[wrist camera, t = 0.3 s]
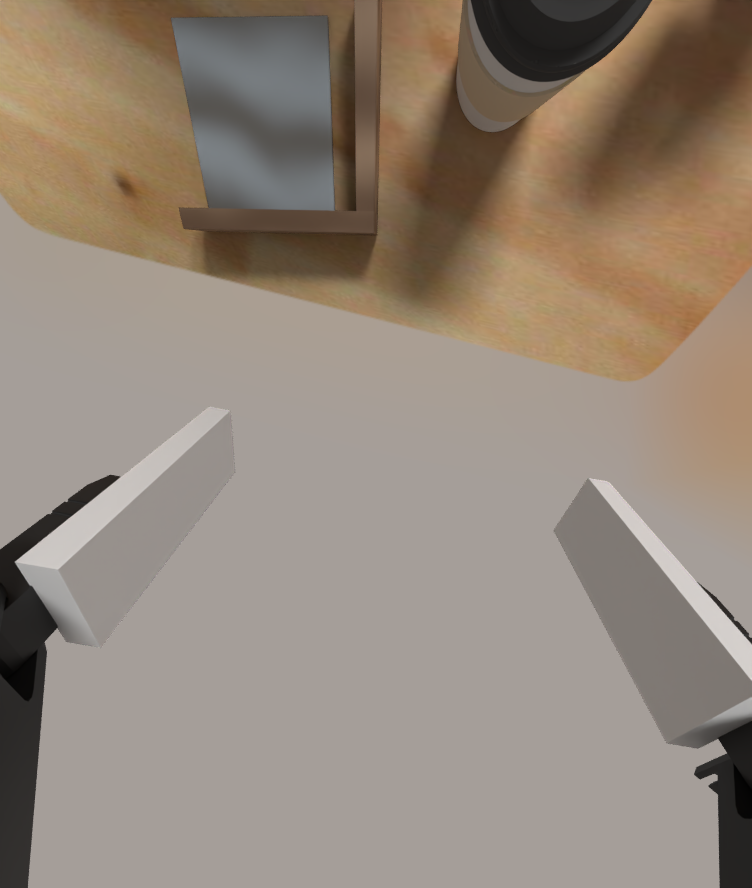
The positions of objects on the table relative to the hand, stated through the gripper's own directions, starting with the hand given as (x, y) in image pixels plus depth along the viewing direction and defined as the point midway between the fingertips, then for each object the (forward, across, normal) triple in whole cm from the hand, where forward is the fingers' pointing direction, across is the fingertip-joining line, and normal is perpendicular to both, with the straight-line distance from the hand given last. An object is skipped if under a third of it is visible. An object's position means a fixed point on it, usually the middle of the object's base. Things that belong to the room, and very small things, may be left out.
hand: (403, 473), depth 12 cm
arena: (+27, -14, +14) cm, 33 cm away
